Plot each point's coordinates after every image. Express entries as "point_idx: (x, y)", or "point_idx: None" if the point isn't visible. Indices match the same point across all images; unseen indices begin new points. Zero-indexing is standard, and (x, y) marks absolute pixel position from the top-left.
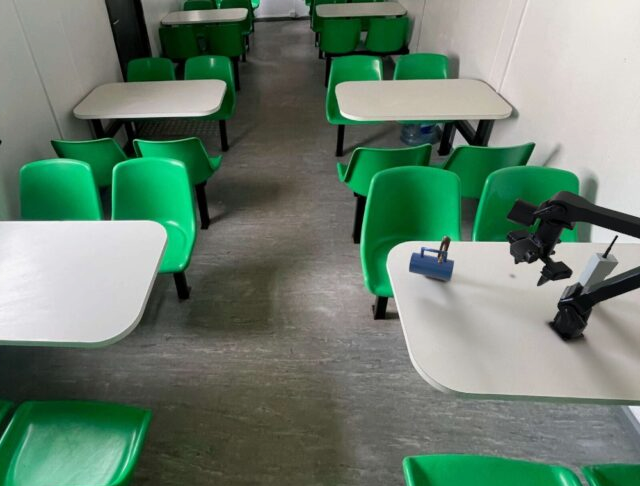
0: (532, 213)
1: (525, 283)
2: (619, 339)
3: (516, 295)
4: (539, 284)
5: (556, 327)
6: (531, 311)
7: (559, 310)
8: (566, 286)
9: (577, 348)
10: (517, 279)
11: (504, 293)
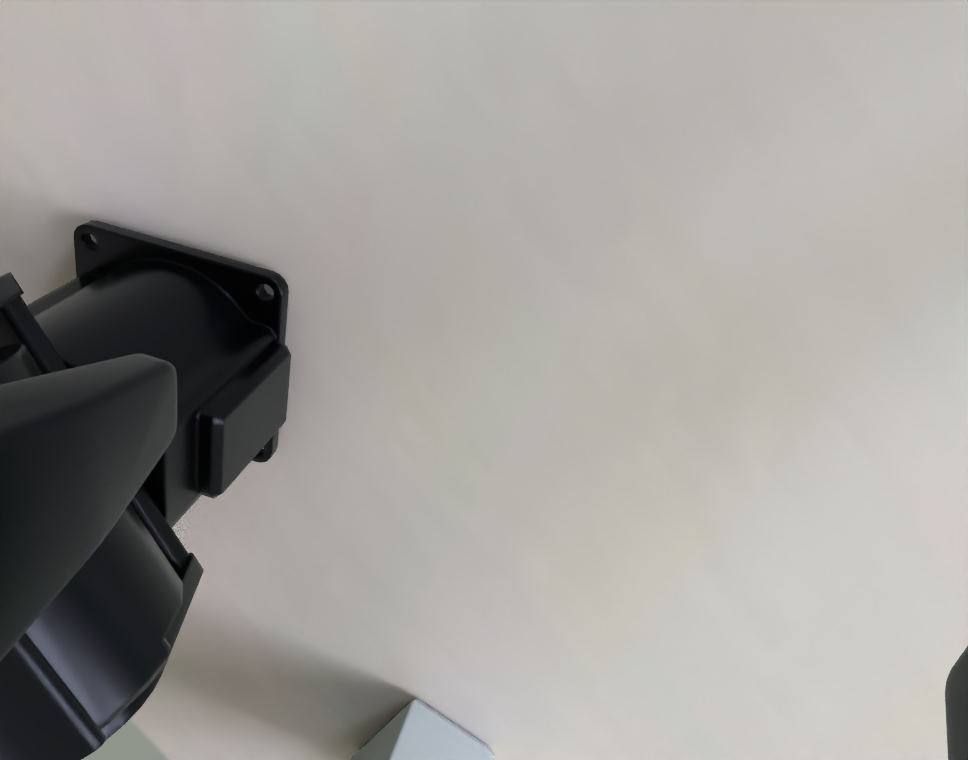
0: None
1: (776, 572)
2: None
3: (715, 350)
4: (33, 381)
5: (196, 282)
6: (471, 282)
7: (20, 346)
8: (91, 737)
9: (12, 247)
10: (869, 563)
11: (823, 257)
